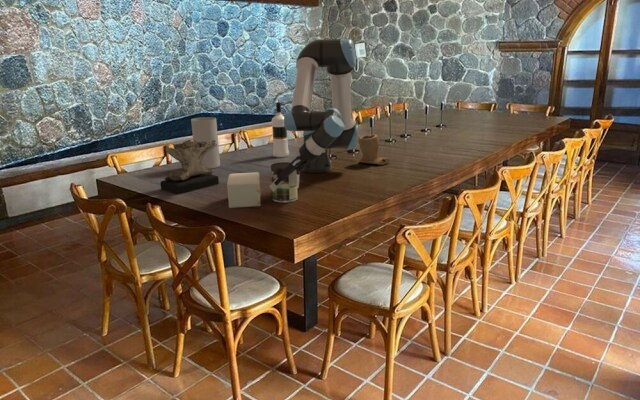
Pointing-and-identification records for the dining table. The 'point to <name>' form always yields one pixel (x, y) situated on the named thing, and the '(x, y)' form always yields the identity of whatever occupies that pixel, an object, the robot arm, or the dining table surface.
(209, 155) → the cylinder vase
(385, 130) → the dining table surface
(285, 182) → the coffee can
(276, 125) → the vodka
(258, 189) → the cabinet
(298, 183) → the shot glass
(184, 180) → the coral
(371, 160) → the stone cup
